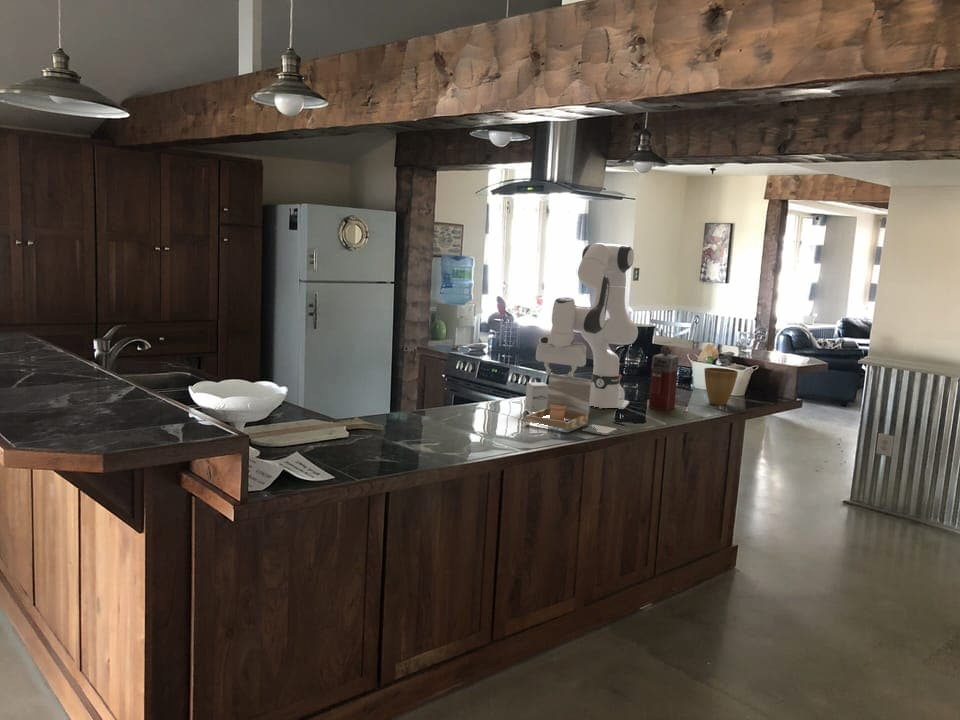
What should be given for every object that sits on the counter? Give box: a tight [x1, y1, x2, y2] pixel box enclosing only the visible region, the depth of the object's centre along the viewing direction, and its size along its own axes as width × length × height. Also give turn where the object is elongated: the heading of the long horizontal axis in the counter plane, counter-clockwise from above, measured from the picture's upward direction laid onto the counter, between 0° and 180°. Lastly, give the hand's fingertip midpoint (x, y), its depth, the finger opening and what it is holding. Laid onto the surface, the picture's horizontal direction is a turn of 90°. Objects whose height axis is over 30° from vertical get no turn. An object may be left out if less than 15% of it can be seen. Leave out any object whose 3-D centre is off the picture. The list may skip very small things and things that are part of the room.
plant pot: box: [704, 367, 739, 406], centre depth 359 cm, size 15×15×16 cm
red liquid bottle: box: [648, 344, 679, 411], centre depth 344 cm, size 9×11×28 cm
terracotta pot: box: [550, 404, 566, 422], centre depth 303 cm, size 6×6×8 cm
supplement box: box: [524, 381, 549, 412], centre depth 322 cm, size 7×7×13 cm
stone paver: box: [590, 424, 617, 433], centre depth 297 cm, size 10×10×1 cm
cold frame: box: [525, 373, 592, 429], centre depth 303 cm, size 19×18×18 cm
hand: (559, 375), depth 301 cm, fingers open, 8 cm apart
